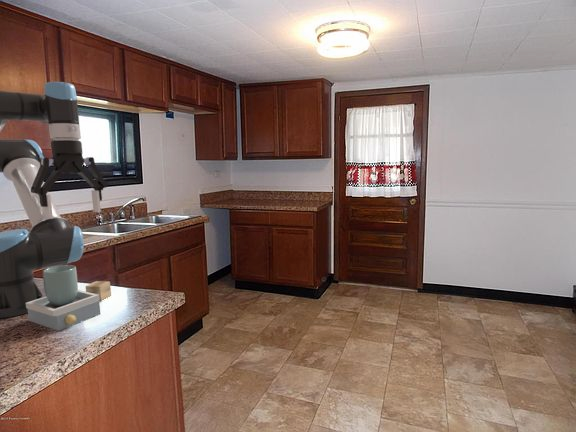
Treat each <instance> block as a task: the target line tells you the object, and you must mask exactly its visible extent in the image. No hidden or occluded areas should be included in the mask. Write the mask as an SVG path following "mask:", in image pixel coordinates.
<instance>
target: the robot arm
mask: <svg viewBox="0 0 576 432" xmlns="http://www.w3.org/2000/svg"><path fill="white" fill-rule="evenodd" d="M43 87H44V91H43V94H38V93H27V92H25V93H24V92H16V91H5V90H0V133H1V132H2V130H3V128H4V127H5V125H6V123H7V122H8V121H24V122H25V121H27V122H29V121H30V122H39V123H44V124H45V123H47V124H48V130H49V138H50V140H52V141H51V142H50V147H51V155H52V158H48V157H44V155H43V150H42V149H41V147H40V145H39V144H38V143H37V142H36V141H35V140H32V139H24V138H18V139H16V138H15V139H14V138H13V139H11V138H5V139H4V138H0V173H2V174H3V176H4V177H5V178H6V179H7V180H9V181H11V182H12V183H13V186H14V189H15V190H16V193H17V195H18V198H19V200H20V202H21V204H22V207H23V209H24V211H25V213H26V216H27V217H28V220H29V222H30V225H31V228H30V230H28V229H26V228H16V229H9V230H4V231H1V232H0V319H5V318H12V317H17V316H20V315H24V314H28V309H27V308H26V303H27V302H30V301H33V300H36V299H40V298H43V297H44V295H43V292H41V289H40V288H39V286H38V285H37V283H36V281H35V277H34V271H36V270H37V271H38V270H43V269H47V268H50V267H54V266H60V265H69V264H70V263H74V262H77V261H79V260H81V257H82V256H83V254H84V247H85V244H84V243H85V242H84V235H83V231H82V229H81V228H80V226H77V225H73V226H71V224H70V222H69V221H68V219H67V218H65V217H61V215H60V213H59V211H58V208H57V207H56V204H55V203H54V200H53V198H52V196H51V194H50V192H49V191H50V190H51V189H52V187H53V186H54V185H55V183H57V180H58V179H59V178H60V176H62V175H64V174H65V175H66V174H68V175H69V174H78V175H79V176H80V177H81V178H82V179H83V180H84V181H85V182H86V183H87V184H89V186H90V188H92V190H91V199H92V207H93V208H92V211H93V212H94V213H101V212H102V211H101V201H102V200H103V197H102V191H103V190H104V188H107V187H108V183H107V181H105V178H104V177H103V175H102V174H101V172H100V170H99V169H98V167H97V165H96V163H95V158H94V157H93V156H90V157H88V156H87V157H85V158H84V156H83V143H82V142H81V138H82V136H81V128H80V127H81V126H80V119H79V108H78V107H79V106H78V97H77V92H76V87H75V86H74V84H73V83H69V82H66V81H65V82H64V81H49V82H45V83H44V86H43ZM51 165H53V166H54V168H53V170H52V171H51V173H50V175H48V178H47V179H46V180H45V178H46V176H47V173H48V171H49V168H50V167H51ZM83 165H86V167H87V168H88V170H89V172H90V173H91V175H92V176H91V175H90V174H89V172H88V171H87V169H86V168H85V167H84V166H83ZM44 181H45V182H44Z"/></svg>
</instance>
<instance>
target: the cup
mask: <svg viewBox="0 0 576 432" xmlns="http://www.w3.org/2000/svg"><path fill="white" fill-rule="evenodd" d="M77 272H78V271H77V267H76V266H75V265H72V264H62V265H57V266H52V267H47V268H44V270H43V269H42V279H43V280H42V281H43V288H44V289H43V290H44V294H45V297H47V300H48V301H49V303H50V304H52V305H55V306H62V305H67V304H69V303H71V302H73V301H74V300H75V299H76V297H77V291H78V290H79V289H78V287H79V286H78V285H79V284H78V273H77Z"/></svg>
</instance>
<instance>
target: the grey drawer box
mask: <svg viewBox="0 0 576 432" xmlns="http://www.w3.org/2000/svg"><path fill="white" fill-rule="evenodd" d="M98 300H100V299H99V295H98V294H93V293H89V292H86V290H85V291H84V290H81V289H78V291H77V297H76V299H75V300H74V301H73V302H71V303H69V304H67V305H62V306H55V305H52V304H50V303H49V301H48V300H47V297H46V296H43V298H40V299H36V300H33V301H30V302H27V303H26V308H27V309H28V313H27V316H28V321H29V322H31V323H34V324H37V325H40V326H43V327H46V328H50V329H52V330H56V331H62V330H64V329H67V328H69V327H72V326H74V325H77V324H79V323H81V321H82V322H84V321H86V319H87V320H89V319H92V318H94V317H96V315H97V316H99V315H101V307H100V306H101V305H100V302H99V301H98ZM98 314H99V315H98ZM93 316H94V317H93ZM91 317H92V318H91Z"/></svg>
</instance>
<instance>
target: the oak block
mask: <svg viewBox="0 0 576 432" xmlns="http://www.w3.org/2000/svg"><path fill="white" fill-rule="evenodd" d="M111 289H112V287H111V281H108V280H107V281H105V280H104V281H101V280H96V281H94V282H91V283H89V284H87V285H85V292H89V293H93V294H98V295H99V299H100V300H98V301H102V300H104V299H106V298H107V299H109V298H110V296H111V297H112V292H111V291H112V290H111ZM108 297H109V298H108ZM107 299H106V300H107ZM104 301H105V300H104ZM102 302H103V301H102Z"/></svg>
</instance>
